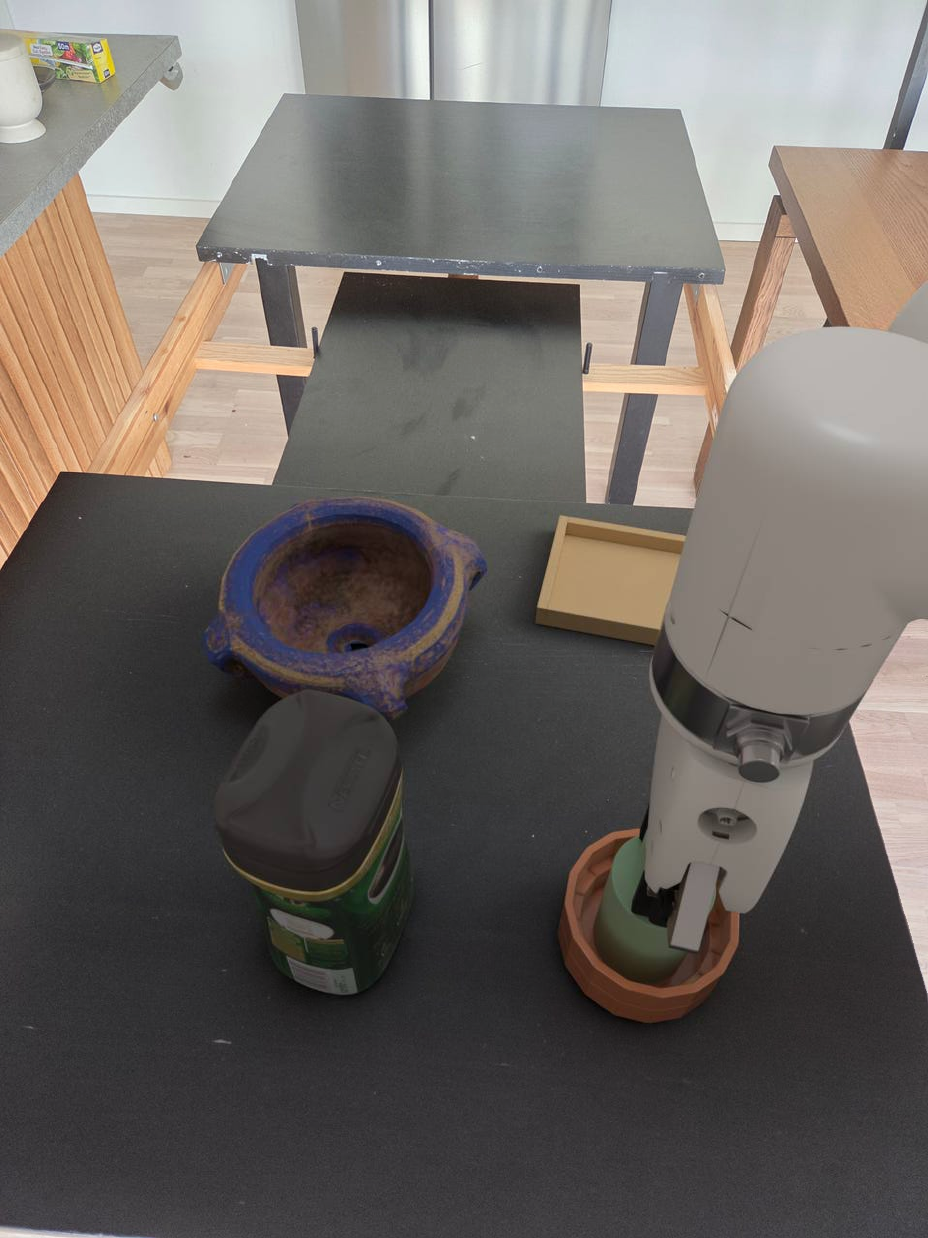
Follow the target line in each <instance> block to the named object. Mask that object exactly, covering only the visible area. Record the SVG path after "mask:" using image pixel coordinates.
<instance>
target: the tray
mask: <svg viewBox="0 0 928 1238" xmlns="http://www.w3.org/2000/svg"><path fill="white" fill-rule="evenodd" d="M685 539H686V535H682V534H677V533H670V532H665V531H658V530H653V529H647V528H641V527H634V526H628V525H622V524H616V523H611V522H604V521H599V520H598V521H597V520H593V519H585V518H580V517H575V516H574V517H573V516H567V515H559V517H558V521H557V525H556V529H555V533H554V537H553V541H552V545H551V549H550V553H549V557H548V562H547V564H546V569H545V573H544V577H543V581H542V585H541V589H540V593H539V598H538V601H537V606H536V610H535V611H536V613H535V619H534V620H535V621H534V623H535V625H542V626H547V627H553V628H558V629H563V630H569V631H574V632H579V633H583V634H584V633H585V634H591V635H596V636H602V637H606V638H612V639H616V640H617V639H618V640H623V641H628V642H634V643H639V644H640V643H641V644H645V645H649V646H655V644H656V640H657V637H658V633H659V630H660V626H661V622H662V619H663V615H664V612H665V608H666V605H667V602H668V600H669V596H670V593H671V589H672V586H673V582H674V578H675V575H676V571H677V567H678V564H679V560H680V557H681V553H682V549H683V546H684V542H685Z"/></svg>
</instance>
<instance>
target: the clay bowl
mask: <svg viewBox="0 0 928 1238" xmlns="http://www.w3.org/2000/svg"><path fill="white" fill-rule="evenodd" d="M639 833H640V827H639V828H638V827H637V828H632V829H625V830H618V831H612V832H610V833H608V834H607V835H605V836H603V837H602V838H600V839H598V840H597V841H594V842H593V843H591V844H590V845H588V846H587V847H586V848H585V849H584V850H583V852H582V853H581V855H580V856H579V858H578V859H577V861H576V862H575V864H574V865H573V866H572V868H571V869H570V871H569V873H568V876H567V880H566V885H565V890H564V894H563V899H562V903H561V908H560V914H559V920H558V927H557V938H558V942H559V947H560V950H561V951H560V952H561V955H562V958H563V963H564V965H565V966H564V967H566V969H567V971H568V972H569V974H570V975H571V976H572V978H573V979H574V981H575V982H576V984H577V985H578V987H579V988H580V990H581V991H582V992H583V994H584V995H585V996H586V997H588V998H589V999H591V1000H592V1001H594V1002H595V1003H597V1004H598V1005H599V1006H600V1007H602V1008H603V1009H605V1010H606V1011H608V1012H609V1013H611V1014H612V1015H614V1016H617V1017H622V1018H625V1019H629V1020H633V1021H636V1022H641V1023H645V1024H652V1023H658V1022H665V1021H669V1020H670V1021H671V1020H676V1019H680V1018H682V1017H684V1016H685V1015H687V1014H688V1013H690V1012H691V1011H692V1010H694V1009H695V1008H697V1007H698V1006H699V1005H701V1004H702V1003H703V1002H705V1001H706V1000H707V999H708V997H709V996H710V995H711V993H712V992H713V990H714V989H715V987H716V986H717V984H718V983H719V981H720V980H721V978H722V977H723V975H724V974H725V972H726V970H727V969H728V966H729V964H730V963H731V960H732V958H733V957H734V954H735V953H736V951H737V948H739V943H740V913H737V912H731V911H726V910H725V908H724V905H723V903H722V900H721V897H720V894H719V885H720V883H721V881H717V883H716V897H715V901H714V905H713V907H712V909H711V911H710V913H709V915H708V917H707V921H706V925H705V929H704V933H703V936H702V940H701V944H700V948H699V951H698V954H694V953H689V952H687V954H686V956H685V958H684V959H683V961H682V963H681V965H680V966H679V968H678V969H677V970H676V971H675V972H674V973H673V974H672V975H671V976H670V977H668V978H666V979H664V980H662V981H659V982H655V983H648V984H645V983H636V982H632V981H629V980H627V979H625V978H624V977H622V976H621V975H619V974H618V973H617V972H615V971H614V970H612V969H611V968H609V967H608V966H607V965H606V964H605V962H604V961H603V960H602V958H601V957H600V955H599V953H598V951H597V948H596V945H595V942H594V935H593V928H594V921H595V918H596V914H597V911H598V908H599V905H600V902H601V899H602V895H603V892H604V889H605V886H606V883H607V880H608V876H609V873H610V870H611V867H612V864H613V861H614V858H615V856H616V854H617V852H618V851H619V849H620V848H621V847H622V846H623V845H624V844H625V843H626V842H627V841H629V840H630V839H632V838H634V837H636V836H639Z"/></svg>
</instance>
